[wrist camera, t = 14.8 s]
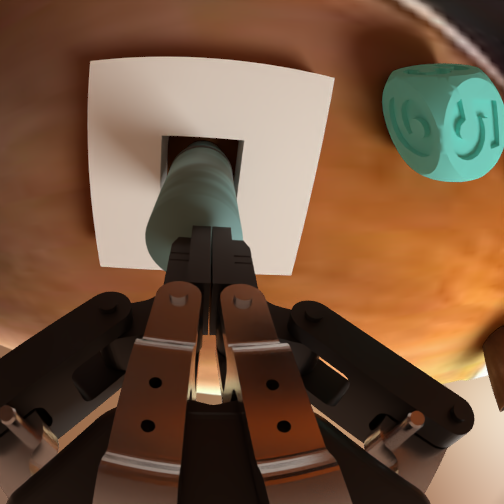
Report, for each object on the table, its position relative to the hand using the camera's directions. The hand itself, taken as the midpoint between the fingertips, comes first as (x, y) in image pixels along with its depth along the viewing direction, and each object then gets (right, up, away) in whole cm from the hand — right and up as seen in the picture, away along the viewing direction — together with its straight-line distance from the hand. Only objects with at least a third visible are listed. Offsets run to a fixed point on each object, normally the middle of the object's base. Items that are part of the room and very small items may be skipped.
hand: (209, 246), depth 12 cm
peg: (-2, +7, +11) cm, 13 cm away
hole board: (-2, +7, +11) cm, 13 cm away
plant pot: (+56, -20, +36) cm, 70 cm away
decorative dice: (+17, +13, +10) cm, 23 cm away
